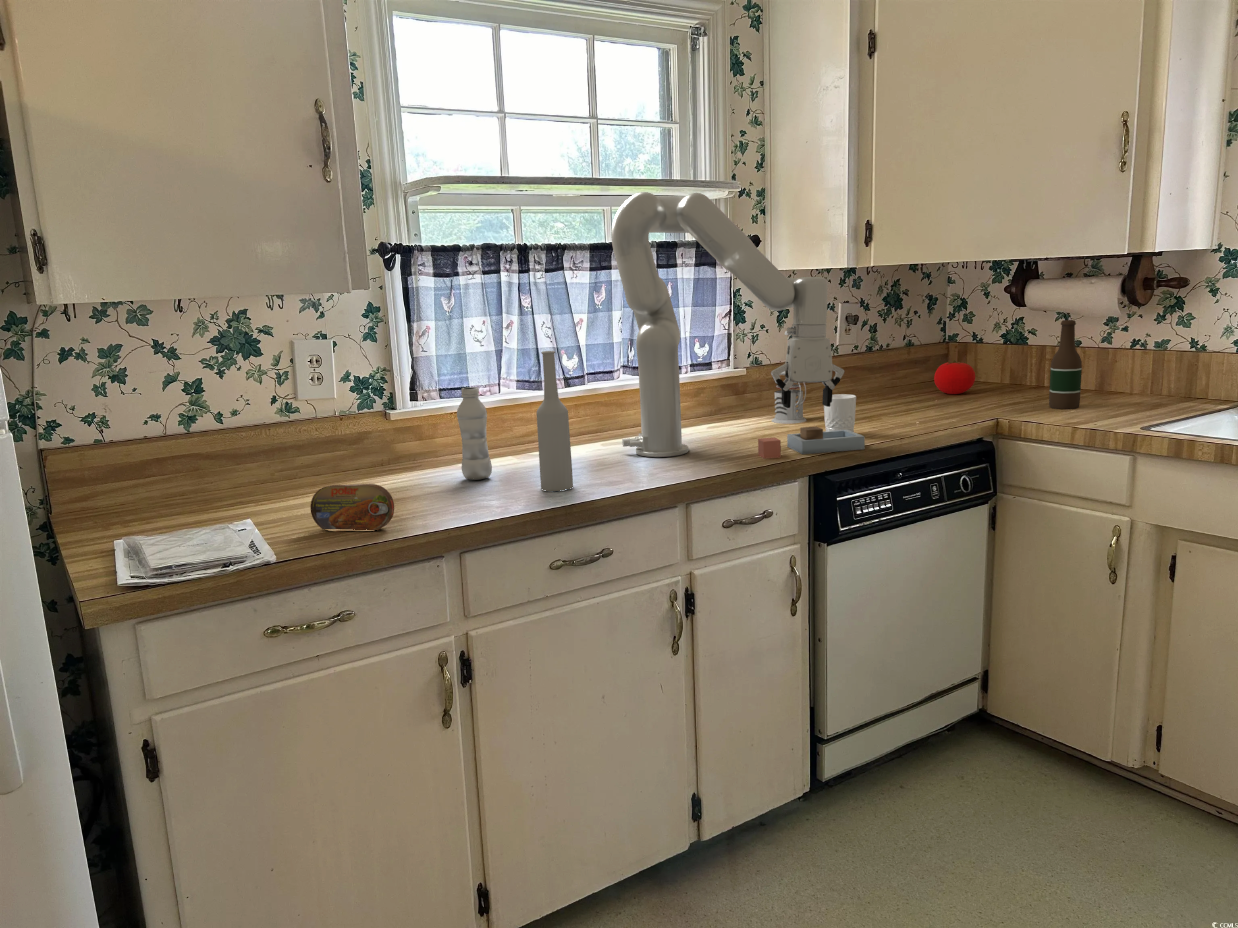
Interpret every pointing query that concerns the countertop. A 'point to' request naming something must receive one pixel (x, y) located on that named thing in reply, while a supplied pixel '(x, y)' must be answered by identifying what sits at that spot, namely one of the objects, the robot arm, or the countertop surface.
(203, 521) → the countertop surface
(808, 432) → the block walnut
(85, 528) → the countertop surface
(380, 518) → the tin
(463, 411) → the plastic bottle
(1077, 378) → the beer bottle
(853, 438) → the dish
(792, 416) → the french press
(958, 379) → the tomato
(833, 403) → the white cup
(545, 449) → the bottle
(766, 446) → the block red
